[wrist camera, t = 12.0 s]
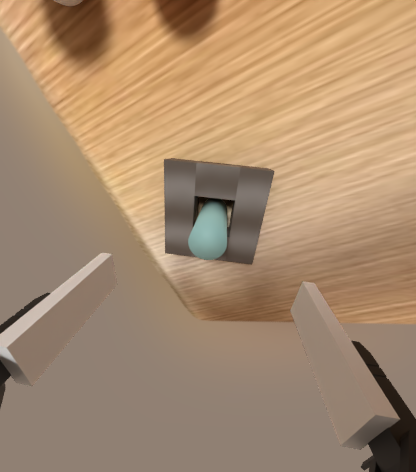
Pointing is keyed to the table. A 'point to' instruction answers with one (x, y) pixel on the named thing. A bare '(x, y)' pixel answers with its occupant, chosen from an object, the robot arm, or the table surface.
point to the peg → (210, 230)
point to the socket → (222, 187)
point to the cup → (68, 2)
